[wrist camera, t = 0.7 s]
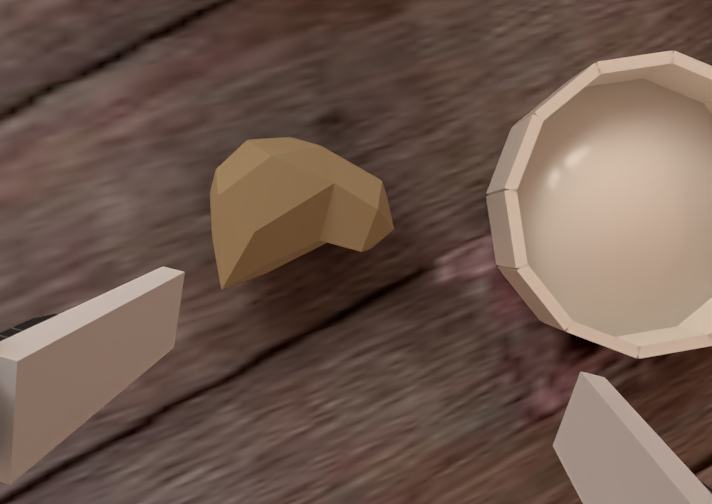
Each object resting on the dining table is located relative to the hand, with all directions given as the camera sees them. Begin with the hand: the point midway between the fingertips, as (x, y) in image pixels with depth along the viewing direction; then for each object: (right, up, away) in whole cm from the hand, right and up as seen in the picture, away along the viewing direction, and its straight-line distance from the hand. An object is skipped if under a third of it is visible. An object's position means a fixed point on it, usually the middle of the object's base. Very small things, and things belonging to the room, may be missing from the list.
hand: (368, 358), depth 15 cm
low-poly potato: (-5, +7, +25) cm, 26 cm away
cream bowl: (+23, +7, +26) cm, 36 cm away
